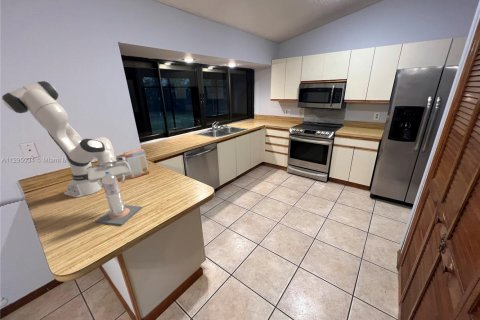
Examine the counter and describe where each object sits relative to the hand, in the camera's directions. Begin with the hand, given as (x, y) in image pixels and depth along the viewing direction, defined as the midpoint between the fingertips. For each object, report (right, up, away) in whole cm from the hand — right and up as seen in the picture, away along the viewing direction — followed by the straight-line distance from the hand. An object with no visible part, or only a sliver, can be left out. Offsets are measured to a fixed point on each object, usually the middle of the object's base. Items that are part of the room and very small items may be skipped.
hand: (113, 184), depth 107 cm
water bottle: (+2, -16, +1) cm, 16 cm away
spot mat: (+3, -17, +2) cm, 17 cm away
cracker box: (-13, +1, +54) cm, 56 cm away
